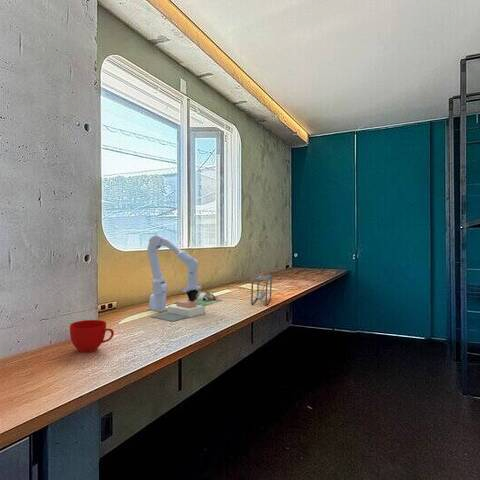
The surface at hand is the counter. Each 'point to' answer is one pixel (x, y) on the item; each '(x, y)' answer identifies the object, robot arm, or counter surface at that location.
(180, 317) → the mat
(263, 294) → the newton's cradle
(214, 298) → the decorative card
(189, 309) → the white platform
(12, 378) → the counter surface
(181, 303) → the tile
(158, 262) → the robot arm
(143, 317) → the counter surface
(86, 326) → the ceramic cup
